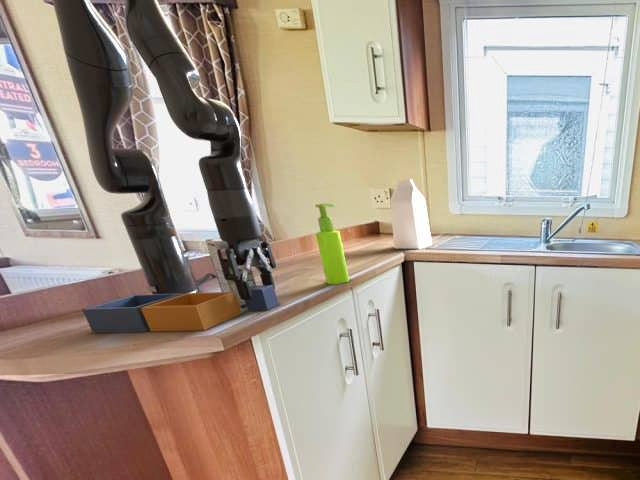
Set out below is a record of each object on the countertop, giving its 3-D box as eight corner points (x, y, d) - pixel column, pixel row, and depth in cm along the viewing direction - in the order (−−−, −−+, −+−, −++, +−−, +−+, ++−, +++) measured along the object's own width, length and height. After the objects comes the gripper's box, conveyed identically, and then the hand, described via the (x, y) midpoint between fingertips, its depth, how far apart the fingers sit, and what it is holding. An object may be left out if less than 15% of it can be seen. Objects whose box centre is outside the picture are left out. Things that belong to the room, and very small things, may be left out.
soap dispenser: (355, 279, 120) (341, 202, 111) (340, 284, 114) (323, 204, 105) (338, 278, 121) (322, 203, 113) (322, 283, 115) (304, 204, 107)
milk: (394, 248, 179) (384, 180, 168) (408, 244, 189) (399, 180, 178) (419, 248, 175) (410, 179, 164) (432, 244, 185) (424, 179, 174)
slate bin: (143, 315, 91) (134, 294, 89) (190, 314, 90) (182, 293, 88) (93, 333, 80) (81, 309, 78) (146, 331, 80) (136, 307, 78)
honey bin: (194, 314, 90) (186, 293, 88) (242, 313, 90) (235, 291, 88) (150, 331, 80) (140, 307, 78) (204, 330, 79) (195, 306, 77)
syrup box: (251, 299, 101) (232, 236, 95) (262, 302, 97) (242, 237, 91) (225, 304, 97) (203, 238, 91) (235, 308, 94) (213, 240, 87)
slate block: (259, 305, 95) (253, 285, 94) (278, 304, 95) (273, 284, 93) (247, 310, 91) (241, 290, 89) (267, 310, 91) (261, 289, 89)
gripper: (239, 213, 91) (261, 288, 98) (191, 217, 79) (220, 303, 85) (272, 212, 91) (292, 287, 98) (229, 216, 78) (256, 302, 85)
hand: (259, 294), depth 92 cm, fingers open, 8 cm apart
